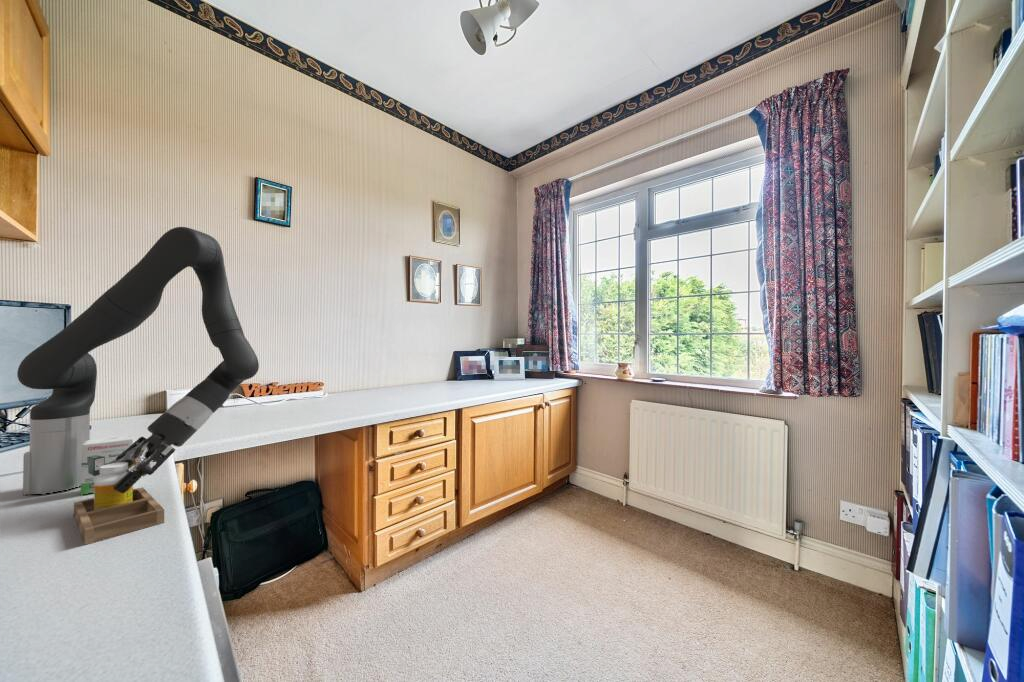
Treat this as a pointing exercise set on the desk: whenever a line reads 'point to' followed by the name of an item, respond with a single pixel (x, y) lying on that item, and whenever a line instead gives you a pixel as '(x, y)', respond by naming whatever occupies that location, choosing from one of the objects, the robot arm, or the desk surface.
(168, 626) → the desk surface
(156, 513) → the organizer
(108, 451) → the ink box
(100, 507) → the supplement bottle
